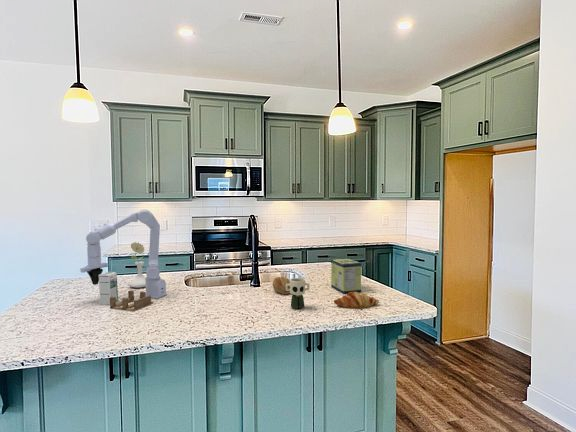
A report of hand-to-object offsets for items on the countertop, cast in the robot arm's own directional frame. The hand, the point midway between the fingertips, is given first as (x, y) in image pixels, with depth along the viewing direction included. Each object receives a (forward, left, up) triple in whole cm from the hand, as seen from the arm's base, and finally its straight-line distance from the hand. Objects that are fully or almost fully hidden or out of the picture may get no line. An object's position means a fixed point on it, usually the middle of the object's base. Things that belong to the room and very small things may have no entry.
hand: (95, 284), depth 181 cm
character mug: (-96, -21, -9) cm, 99 cm away
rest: (-22, 0, -8) cm, 23 cm away
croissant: (-121, -32, -9) cm, 126 cm away
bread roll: (-80, -44, -9) cm, 92 cm away
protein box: (-111, -59, -9) cm, 126 cm away
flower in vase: (0, -30, -9) cm, 31 cm away
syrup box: (-8, 0, -9) cm, 12 cm away
